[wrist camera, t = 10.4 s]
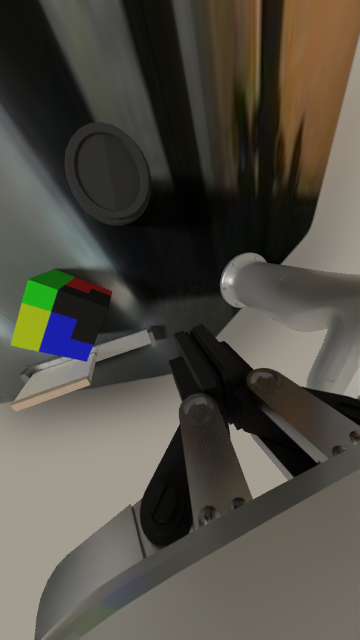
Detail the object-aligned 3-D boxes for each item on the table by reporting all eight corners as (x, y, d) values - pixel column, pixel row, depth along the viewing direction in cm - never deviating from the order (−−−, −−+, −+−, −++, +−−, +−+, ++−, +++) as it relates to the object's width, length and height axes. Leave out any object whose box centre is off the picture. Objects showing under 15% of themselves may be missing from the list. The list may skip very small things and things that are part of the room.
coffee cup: (137, 172, 30) (147, 117, 16) (144, 229, 33) (158, 221, 20) (82, 172, 28) (43, 109, 14) (96, 232, 31) (75, 226, 18)
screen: (93, 352, 38) (87, 378, 31) (96, 357, 39) (90, 384, 31) (33, 372, 36) (10, 405, 29) (36, 377, 37) (15, 411, 29)
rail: (150, 325, 41) (152, 331, 38) (154, 339, 42) (156, 345, 40) (26, 366, 37) (19, 375, 34) (36, 379, 38) (30, 389, 36)
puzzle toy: (95, 333, 38) (86, 361, 29) (39, 318, 34) (10, 345, 25) (112, 291, 36) (108, 307, 27) (54, 268, 32) (28, 279, 23)
